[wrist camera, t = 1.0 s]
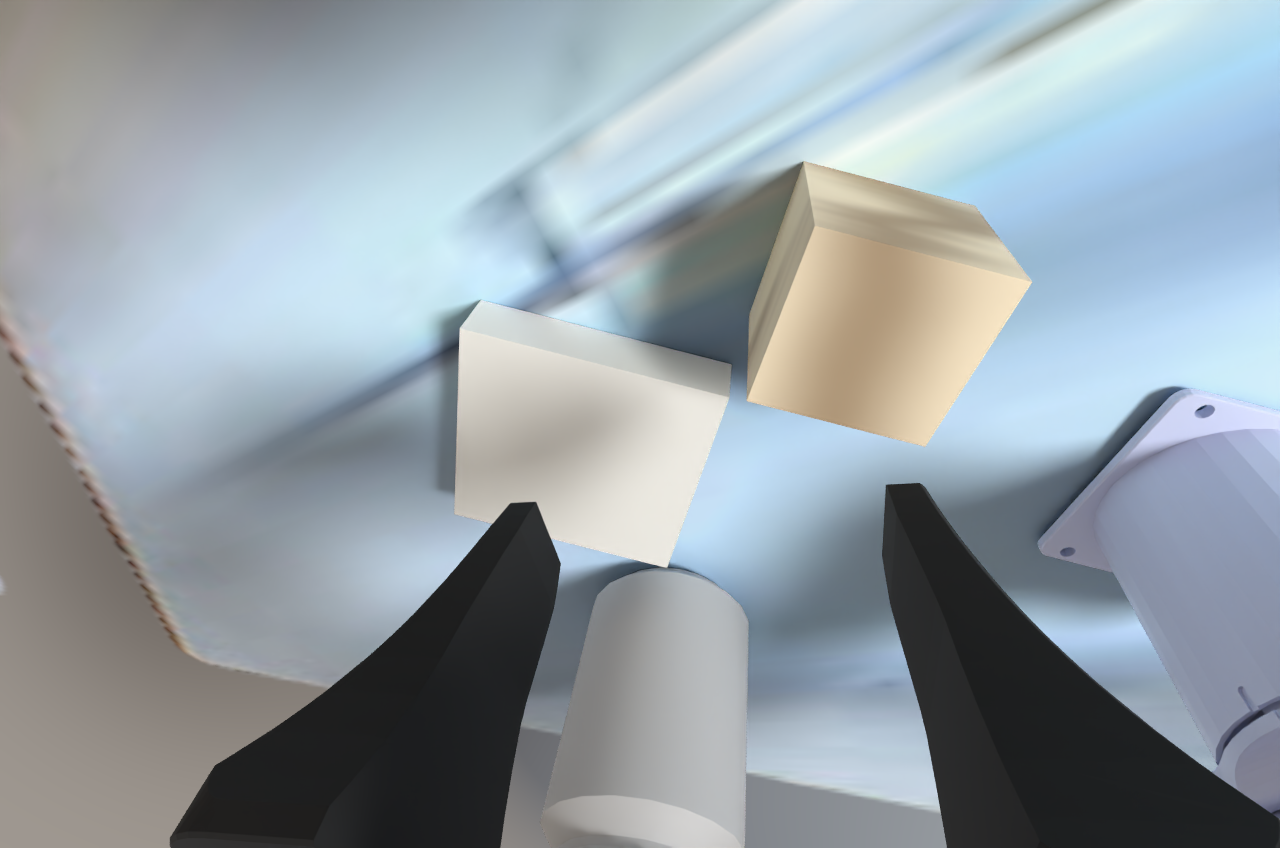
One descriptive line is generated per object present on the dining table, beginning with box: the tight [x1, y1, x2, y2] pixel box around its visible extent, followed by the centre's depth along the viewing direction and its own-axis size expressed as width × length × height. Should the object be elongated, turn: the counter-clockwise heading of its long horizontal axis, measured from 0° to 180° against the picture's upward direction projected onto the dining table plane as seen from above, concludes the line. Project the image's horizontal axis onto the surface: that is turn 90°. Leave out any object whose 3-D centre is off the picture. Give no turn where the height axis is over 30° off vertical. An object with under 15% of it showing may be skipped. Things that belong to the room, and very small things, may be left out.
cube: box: [747, 161, 1032, 447], centre depth 18 cm, size 5×5×5 cm
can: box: [540, 567, 749, 848], centre depth 27 cm, size 8×8×12 cm
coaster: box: [454, 300, 732, 568], centre depth 24 cm, size 9×9×2 cm
